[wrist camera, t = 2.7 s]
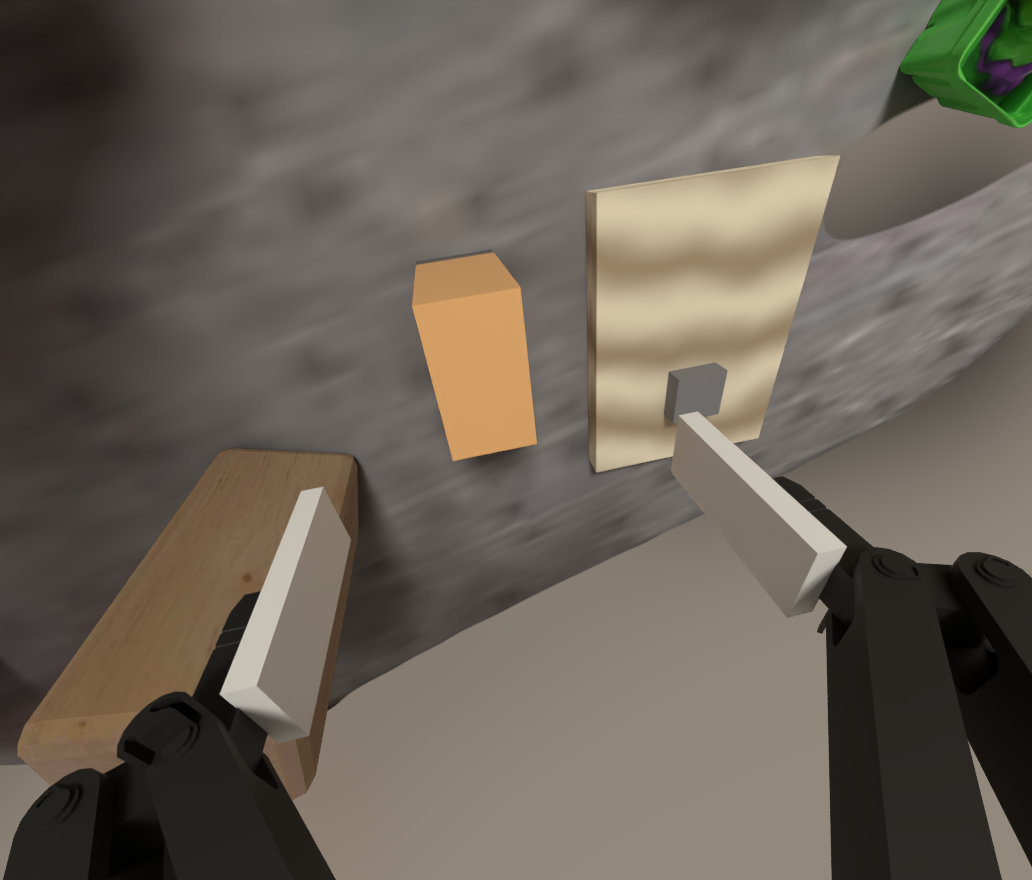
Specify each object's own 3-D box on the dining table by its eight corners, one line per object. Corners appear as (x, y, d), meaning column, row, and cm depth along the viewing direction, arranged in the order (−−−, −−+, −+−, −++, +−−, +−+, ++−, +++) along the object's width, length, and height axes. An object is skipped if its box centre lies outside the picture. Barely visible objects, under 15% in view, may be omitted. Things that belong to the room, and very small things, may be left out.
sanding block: (416, 261, 26) (412, 306, 18) (491, 249, 27) (520, 287, 19) (446, 384, 31) (453, 461, 23) (508, 372, 32) (536, 443, 24)
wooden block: (358, 449, 33) (295, 721, 17) (360, 534, 38) (312, 804, 22) (219, 441, 31) (-13, 755, 14) (240, 534, 36) (89, 839, 20)
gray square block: (668, 371, 32) (678, 380, 31) (715, 362, 32) (727, 370, 31) (663, 413, 34) (673, 423, 33) (707, 404, 35) (718, 414, 33)
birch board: (585, 191, 26) (596, 193, 24) (815, 155, 27) (840, 155, 25) (589, 459, 38) (596, 472, 37) (744, 426, 40) (758, 437, 38)
